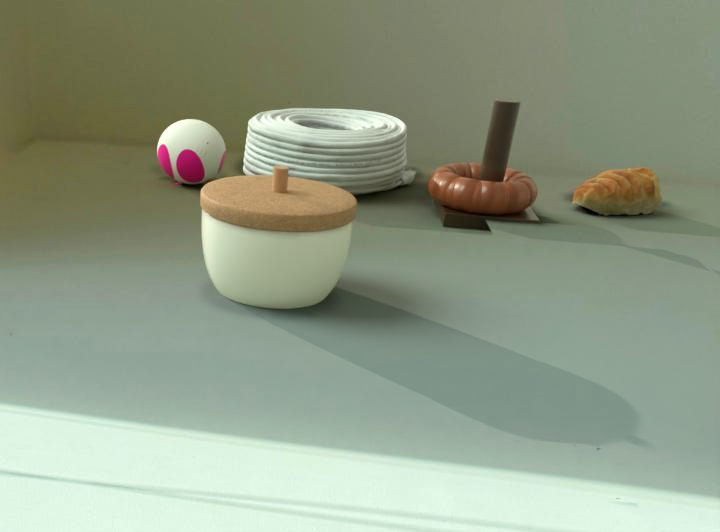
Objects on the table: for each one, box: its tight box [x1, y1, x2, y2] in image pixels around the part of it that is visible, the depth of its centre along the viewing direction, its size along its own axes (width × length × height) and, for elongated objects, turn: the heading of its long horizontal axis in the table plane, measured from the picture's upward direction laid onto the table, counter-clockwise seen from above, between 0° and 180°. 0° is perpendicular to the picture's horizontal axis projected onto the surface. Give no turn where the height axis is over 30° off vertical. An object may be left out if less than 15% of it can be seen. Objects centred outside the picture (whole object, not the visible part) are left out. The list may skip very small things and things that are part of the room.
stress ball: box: [156, 118, 227, 188], centre depth 94 cm, size 8×8×7 cm
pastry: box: [571, 166, 663, 216], centre depth 96 cm, size 9×7×4 cm
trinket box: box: [199, 166, 358, 310], centre depth 64 cm, size 11×11×9 cm
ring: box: [426, 162, 539, 215], centre depth 90 cm, size 10×10×3 cm
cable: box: [242, 107, 418, 196], centre depth 97 cm, size 18×18×6 cm
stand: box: [433, 97, 541, 231], centre depth 88 cm, size 9×9×10 cm
